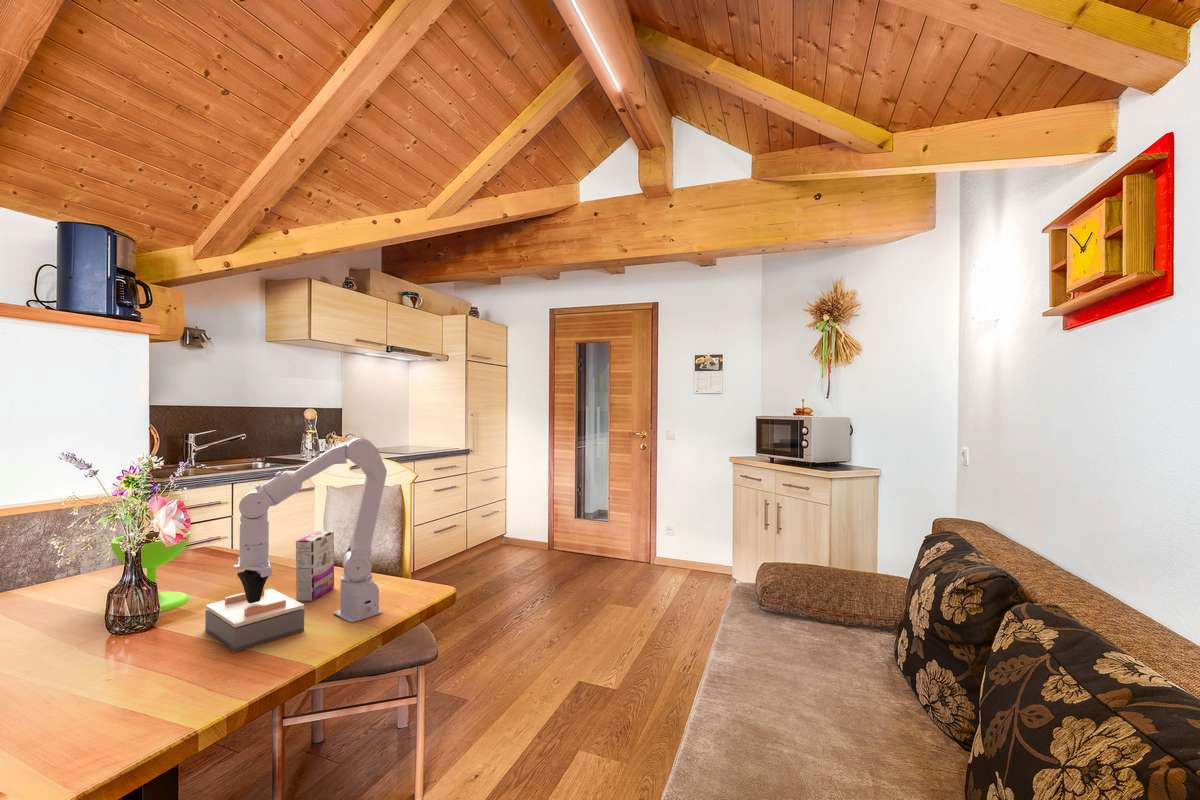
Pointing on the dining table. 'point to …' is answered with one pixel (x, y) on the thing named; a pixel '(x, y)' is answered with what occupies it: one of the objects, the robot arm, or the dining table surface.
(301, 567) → the candy bar box
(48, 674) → the dining table surface
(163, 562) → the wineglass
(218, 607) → the lid
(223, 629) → the box
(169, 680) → the dining table surface
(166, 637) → the dining table surface
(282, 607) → the lid
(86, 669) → the dining table surface
